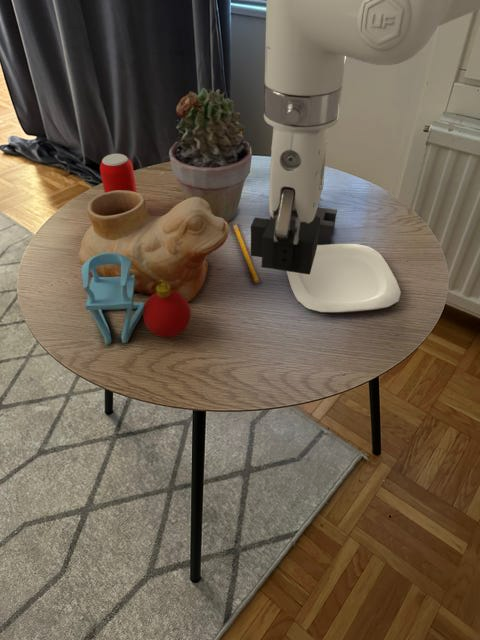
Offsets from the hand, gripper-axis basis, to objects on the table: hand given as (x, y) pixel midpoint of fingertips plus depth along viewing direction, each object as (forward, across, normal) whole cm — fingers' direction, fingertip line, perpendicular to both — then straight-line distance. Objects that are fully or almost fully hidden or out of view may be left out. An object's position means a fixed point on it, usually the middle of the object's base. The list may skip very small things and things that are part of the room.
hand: (290, 250), depth 61 cm
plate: (+18, +18, -6) cm, 26 cm away
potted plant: (+17, +35, +22) cm, 44 cm away
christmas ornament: (+17, -1, +18) cm, 25 cm away
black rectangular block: (+1, 0, 0) cm, 1 cm away
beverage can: (+17, +28, +39) cm, 51 cm away
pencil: (+17, +22, +12) cm, 30 cm away
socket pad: (+17, +31, 0) cm, 35 cm away
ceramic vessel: (+17, +11, +25) cm, 32 cm away
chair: (+17, -2, +26) cm, 31 cm away
